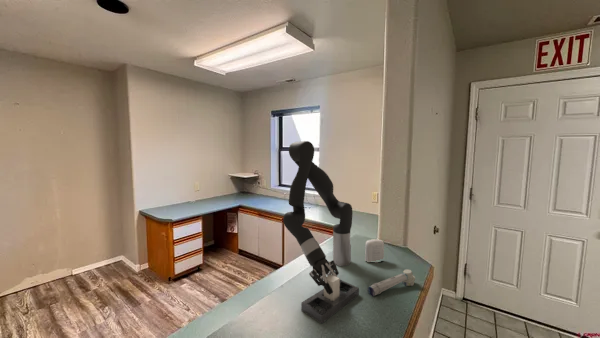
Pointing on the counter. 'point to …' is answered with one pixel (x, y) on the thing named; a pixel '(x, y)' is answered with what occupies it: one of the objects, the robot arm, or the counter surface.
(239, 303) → the counter surface
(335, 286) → the peg
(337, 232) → the robot arm
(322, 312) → the grey holed base
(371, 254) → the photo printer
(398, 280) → the grey knobbed rod
